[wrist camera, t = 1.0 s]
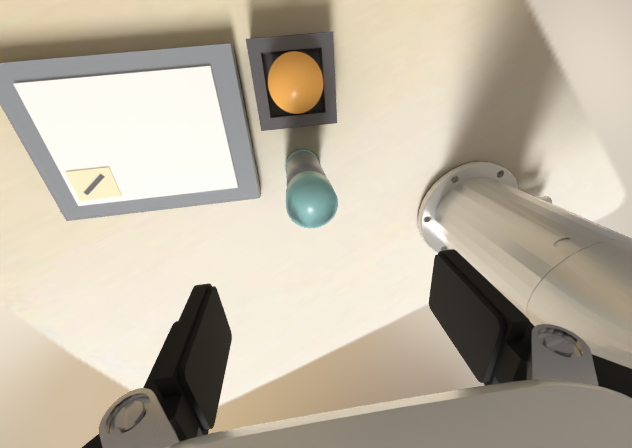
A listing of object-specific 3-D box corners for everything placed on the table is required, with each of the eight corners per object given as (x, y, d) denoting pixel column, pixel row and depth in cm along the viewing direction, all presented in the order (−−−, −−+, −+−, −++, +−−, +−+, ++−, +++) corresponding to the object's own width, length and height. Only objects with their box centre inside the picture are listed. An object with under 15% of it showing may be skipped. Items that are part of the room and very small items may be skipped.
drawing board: (233, 45, 24) (229, 42, 22) (261, 193, 30) (259, 199, 29) (-5, 66, 23) (-27, 64, 21) (76, 214, 29) (63, 222, 28)
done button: (317, 52, 23) (321, 48, 21) (321, 108, 25) (325, 111, 23) (265, 57, 22) (263, 53, 20) (273, 113, 24) (272, 116, 22)
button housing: (327, 37, 25) (332, 31, 22) (331, 119, 28) (337, 123, 25) (250, 44, 24) (245, 38, 21) (263, 126, 27) (261, 130, 25)
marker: (318, 146, 29) (336, 177, 19) (321, 181, 31) (338, 224, 21) (283, 150, 29) (282, 183, 19) (287, 184, 30) (289, 231, 21)
